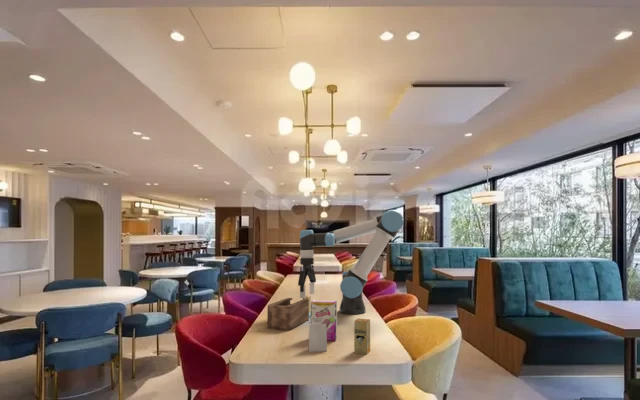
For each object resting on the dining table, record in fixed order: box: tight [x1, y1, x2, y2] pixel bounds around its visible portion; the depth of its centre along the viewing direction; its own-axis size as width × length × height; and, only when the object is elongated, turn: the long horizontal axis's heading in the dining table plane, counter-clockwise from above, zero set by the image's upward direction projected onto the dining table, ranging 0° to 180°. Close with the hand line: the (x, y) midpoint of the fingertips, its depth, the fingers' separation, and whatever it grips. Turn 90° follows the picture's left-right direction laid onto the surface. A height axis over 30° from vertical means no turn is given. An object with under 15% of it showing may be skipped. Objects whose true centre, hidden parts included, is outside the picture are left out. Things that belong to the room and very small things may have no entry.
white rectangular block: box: [308, 323, 328, 353], centre depth 156 cm, size 4×7×10 cm, turn 96°
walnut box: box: [266, 297, 310, 331], centre depth 199 cm, size 12×23×11 cm, turn 159°
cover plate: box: [302, 295, 312, 319], centre depth 220 cm, size 9×20×11 cm, turn 159°
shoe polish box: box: [353, 318, 371, 355], centre depth 153 cm, size 5×5×12 cm
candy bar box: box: [310, 299, 338, 342], centre depth 171 cm, size 11×5×16 cm, turn 84°
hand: (307, 295), depth 220 cm, fingers open, 13 cm apart
